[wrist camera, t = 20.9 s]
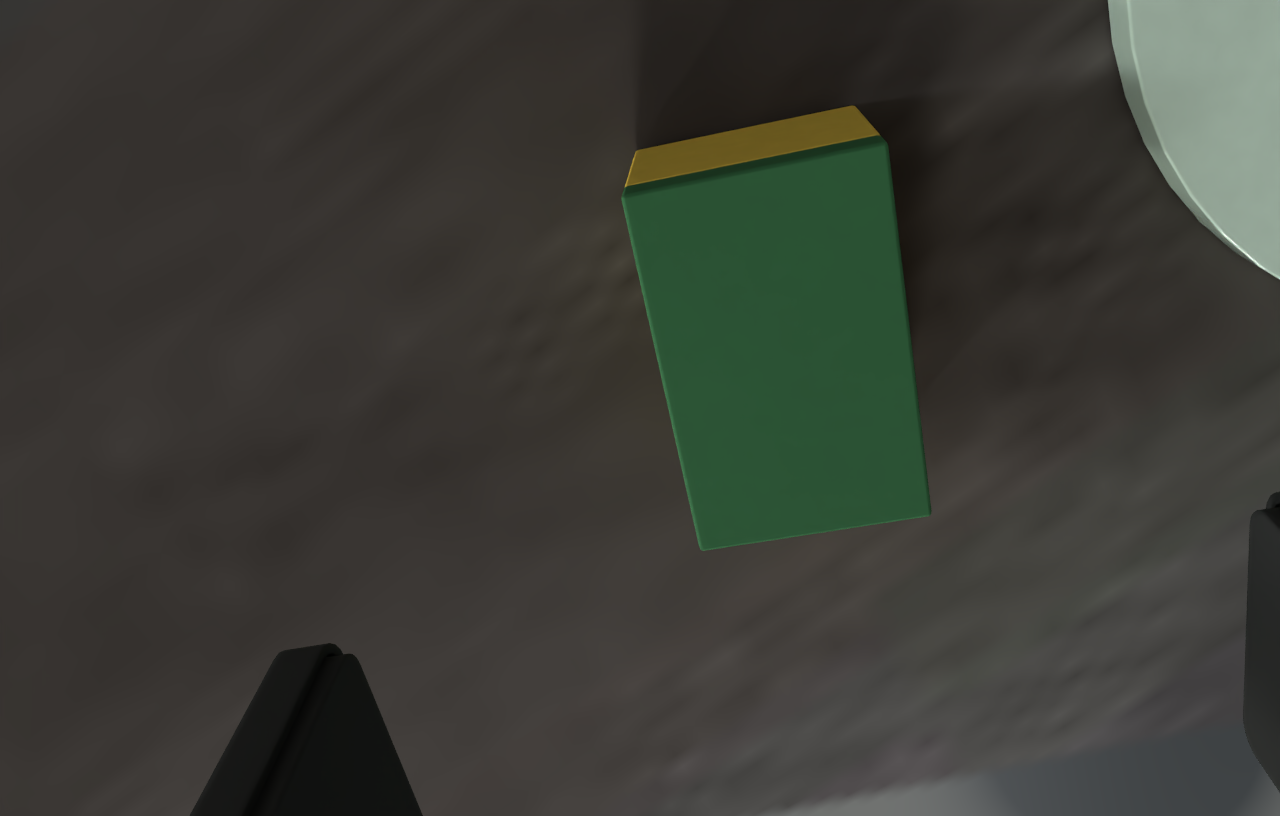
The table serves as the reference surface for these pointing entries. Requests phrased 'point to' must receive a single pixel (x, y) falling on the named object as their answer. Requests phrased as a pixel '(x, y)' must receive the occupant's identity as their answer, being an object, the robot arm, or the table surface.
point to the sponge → (781, 326)
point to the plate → (1210, 109)
